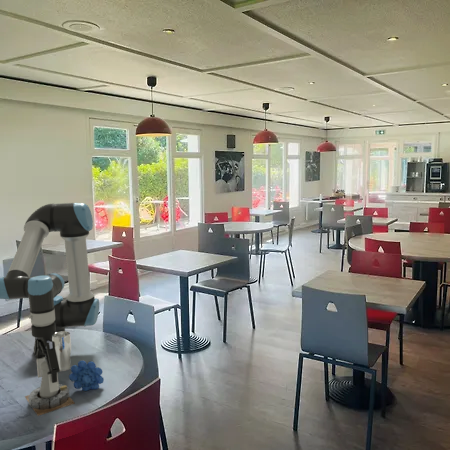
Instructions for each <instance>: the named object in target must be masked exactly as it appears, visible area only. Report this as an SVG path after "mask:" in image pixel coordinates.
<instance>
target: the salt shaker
mask: <svg viewBox="0 0 450 450" xmlns="http://www.w3.org/2000/svg"><path fill="white" fill-rule="evenodd" d="M40 368H41V370H43V373H42V377H41V380H40V381H41V383H40V386H39V387H40V396H41V398H42V399H45V398H51V397H54V396H56V395H57V393H58V390H57V391H54V392H51V393H50V387H49V375H48V374H47V373H48V372H49V369H48V365H47V361H46V360H45V361H44V362H42V363H41V365H40Z"/></svg>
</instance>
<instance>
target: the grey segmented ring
mask: <svg viewBox="0 0 450 450" xmlns="http://www.w3.org/2000/svg"><path fill="white" fill-rule="evenodd" d="M58 384H59V390H58V393H57V395H56V396H54V397H51V398H45V399H42V398H41V396H40V387H41V386H39V387H37V388H36V389H34V390H32V391H30V393H29V394H28V395H29V396H28V395H27V396H28V399H29V402H28V405H29V407H31V409H33V408H34V409H38V410H39V409H40V410H44V409H51V408H54V407H57V406H60V405H62V404H63V403H65V402H66V401H67V400H68V398H69V397H70V389H69V388H68V386H67V384H66V385H65V384H60V383H58Z"/></svg>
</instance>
